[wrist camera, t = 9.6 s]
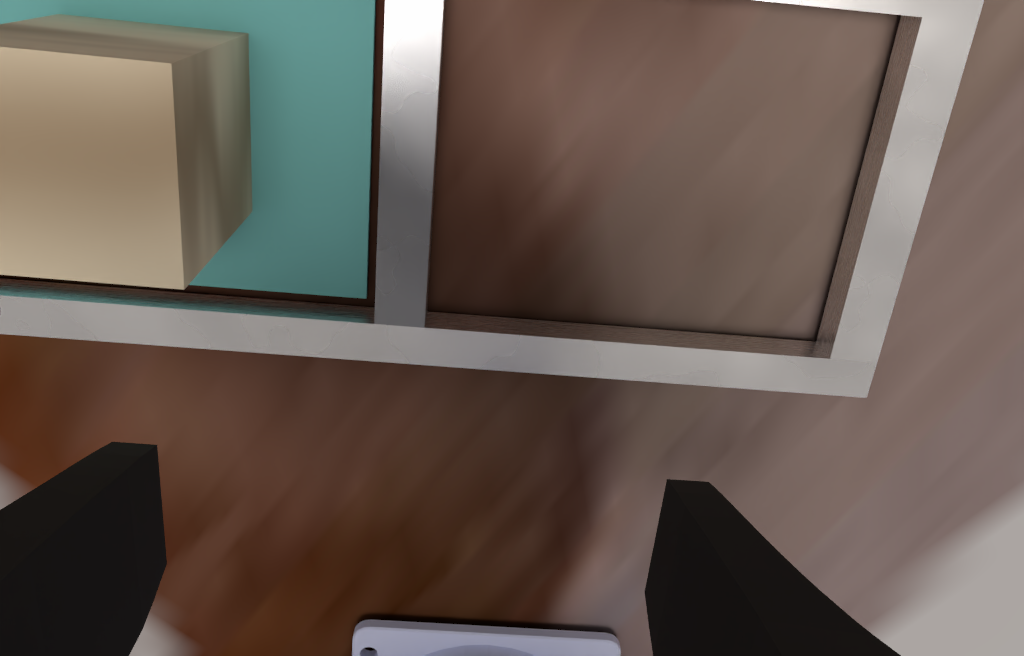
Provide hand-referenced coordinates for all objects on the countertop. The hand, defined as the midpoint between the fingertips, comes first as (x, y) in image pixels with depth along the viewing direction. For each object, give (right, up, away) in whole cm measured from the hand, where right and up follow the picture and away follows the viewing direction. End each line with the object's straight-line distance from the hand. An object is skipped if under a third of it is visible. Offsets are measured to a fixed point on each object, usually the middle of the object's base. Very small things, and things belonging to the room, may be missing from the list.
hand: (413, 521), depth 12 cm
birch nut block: (-6, +7, +7) cm, 12 cm away
